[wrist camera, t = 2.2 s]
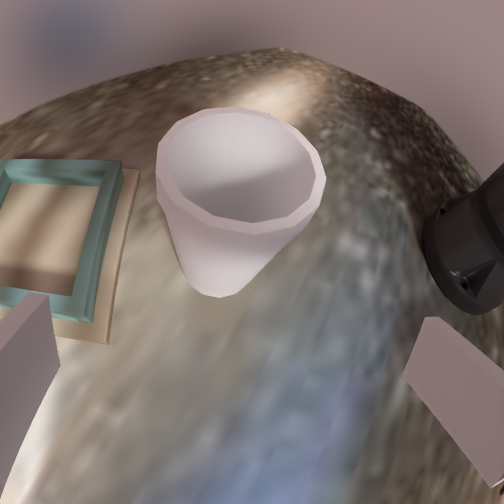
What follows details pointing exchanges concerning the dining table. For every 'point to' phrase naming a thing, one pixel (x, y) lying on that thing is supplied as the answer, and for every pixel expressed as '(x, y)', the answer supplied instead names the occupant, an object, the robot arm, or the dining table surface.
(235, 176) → the foam cup
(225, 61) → the dining table surface
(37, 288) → the plate
